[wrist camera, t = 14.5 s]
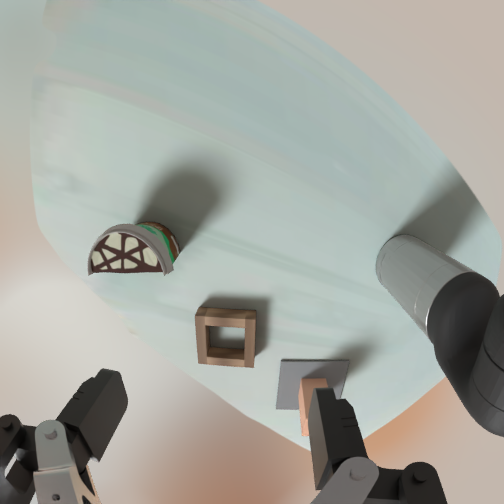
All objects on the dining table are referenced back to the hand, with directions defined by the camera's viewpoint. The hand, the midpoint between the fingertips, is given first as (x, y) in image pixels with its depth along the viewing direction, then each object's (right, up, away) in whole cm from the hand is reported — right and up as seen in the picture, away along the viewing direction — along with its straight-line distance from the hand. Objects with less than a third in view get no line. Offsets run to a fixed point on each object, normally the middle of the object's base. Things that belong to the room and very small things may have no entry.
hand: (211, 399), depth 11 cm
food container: (-14, +9, +33) cm, 36 cm away
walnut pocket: (-2, -7, +36) cm, 37 cm away
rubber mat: (+12, -18, +38) cm, 44 cm away
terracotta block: (+12, -19, +38) cm, 44 cm away
